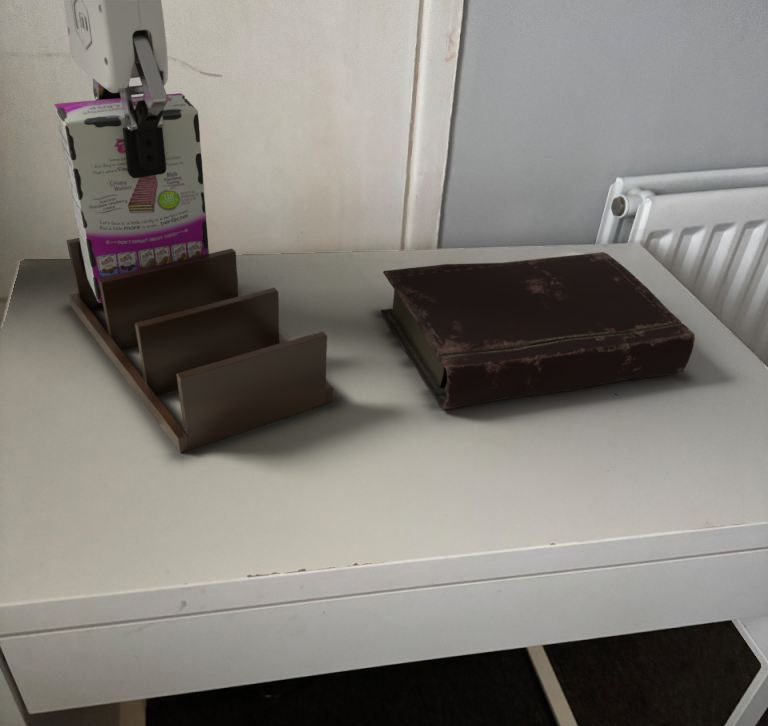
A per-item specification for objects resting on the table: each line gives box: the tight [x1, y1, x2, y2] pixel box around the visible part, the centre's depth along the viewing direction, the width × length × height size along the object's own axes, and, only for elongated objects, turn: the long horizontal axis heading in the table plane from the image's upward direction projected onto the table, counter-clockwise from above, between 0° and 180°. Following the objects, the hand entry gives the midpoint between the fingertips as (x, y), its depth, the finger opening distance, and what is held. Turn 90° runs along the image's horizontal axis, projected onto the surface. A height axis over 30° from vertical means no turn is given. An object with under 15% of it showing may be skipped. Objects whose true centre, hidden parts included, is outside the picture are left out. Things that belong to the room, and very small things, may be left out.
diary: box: [380, 251, 696, 411], centre depth 81 cm, size 19×25×5 cm
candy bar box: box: [53, 92, 210, 303], centre depth 75 cm, size 11×5×16 cm, turn 117°
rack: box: [66, 237, 335, 453], centre depth 76 cm, size 26×15×7 cm, turn 34°
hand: (133, 159), depth 73 cm, fingers closed on candy bar box, 5 cm apart
